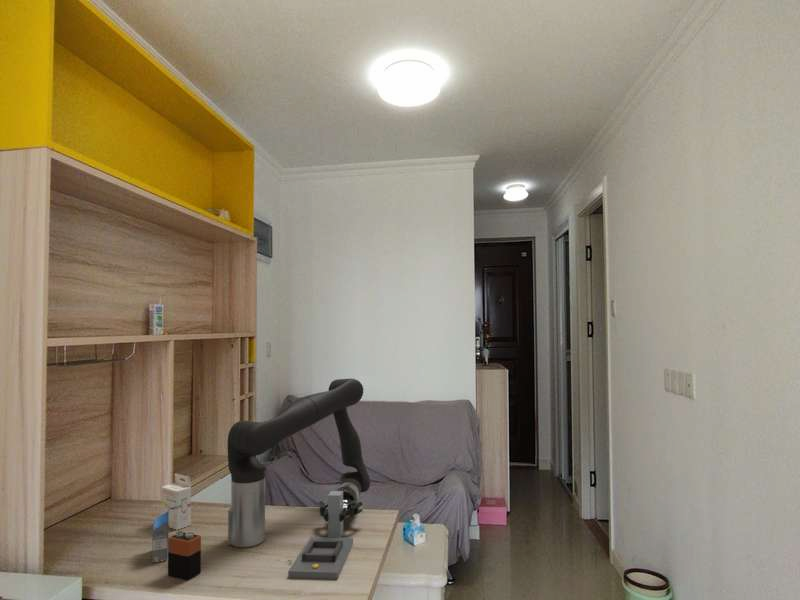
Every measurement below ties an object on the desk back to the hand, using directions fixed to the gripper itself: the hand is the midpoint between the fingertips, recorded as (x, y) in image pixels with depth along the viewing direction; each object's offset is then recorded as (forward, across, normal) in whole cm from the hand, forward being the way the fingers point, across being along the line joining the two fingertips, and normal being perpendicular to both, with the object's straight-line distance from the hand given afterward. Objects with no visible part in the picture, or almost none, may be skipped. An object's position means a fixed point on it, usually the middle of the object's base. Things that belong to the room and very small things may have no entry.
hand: (333, 517), depth 142 cm
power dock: (+12, 0, +6) cm, 14 cm away
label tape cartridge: (+12, -44, +6) cm, 46 cm away
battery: (+22, -32, +6) cm, 40 cm away
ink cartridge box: (-8, -51, +6) cm, 52 cm away
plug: (-3, 0, +6) cm, 7 cm away
